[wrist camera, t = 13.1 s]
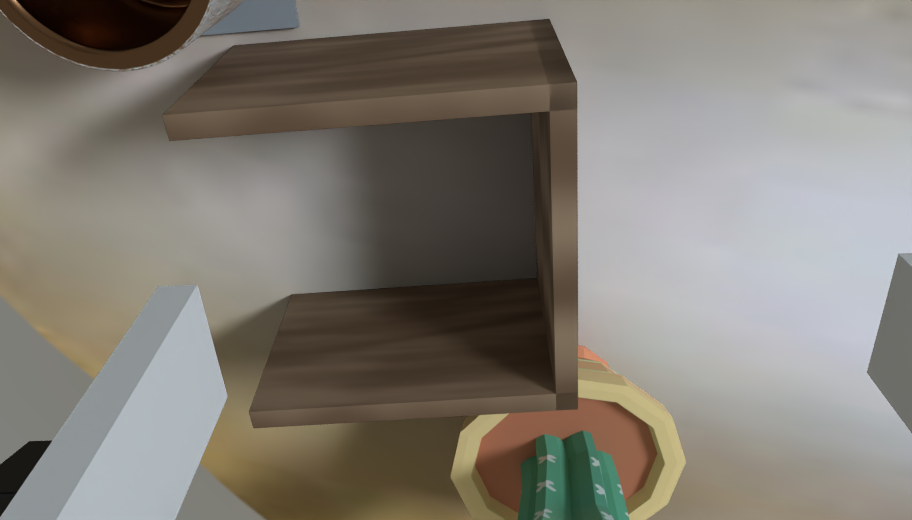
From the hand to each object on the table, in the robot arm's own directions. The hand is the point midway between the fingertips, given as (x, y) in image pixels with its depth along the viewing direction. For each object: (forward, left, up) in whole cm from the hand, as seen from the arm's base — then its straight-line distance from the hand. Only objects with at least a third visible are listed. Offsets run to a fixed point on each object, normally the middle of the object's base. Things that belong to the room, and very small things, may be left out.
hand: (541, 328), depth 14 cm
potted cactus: (+29, +3, -32) cm, 43 cm away
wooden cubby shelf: (+11, -5, -32) cm, 34 cm away
